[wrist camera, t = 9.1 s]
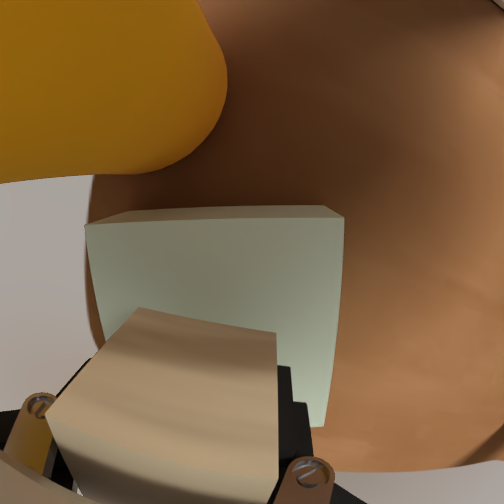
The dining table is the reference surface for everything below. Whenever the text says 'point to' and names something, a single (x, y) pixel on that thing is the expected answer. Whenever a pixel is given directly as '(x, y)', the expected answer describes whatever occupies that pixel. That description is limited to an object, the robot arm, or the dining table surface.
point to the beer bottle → (105, 86)
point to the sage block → (231, 277)
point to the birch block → (173, 414)
